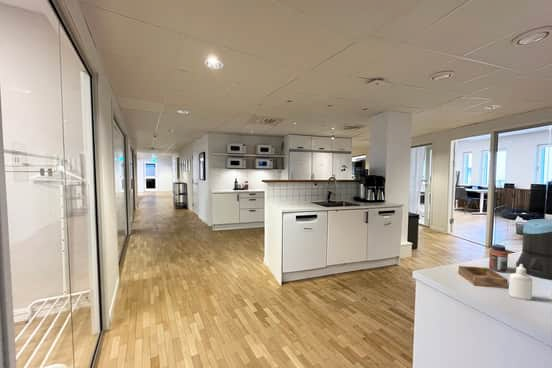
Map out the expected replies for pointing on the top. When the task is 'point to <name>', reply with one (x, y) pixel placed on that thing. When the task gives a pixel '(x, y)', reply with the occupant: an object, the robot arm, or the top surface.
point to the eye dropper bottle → (520, 284)
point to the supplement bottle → (498, 258)
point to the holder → (482, 277)
